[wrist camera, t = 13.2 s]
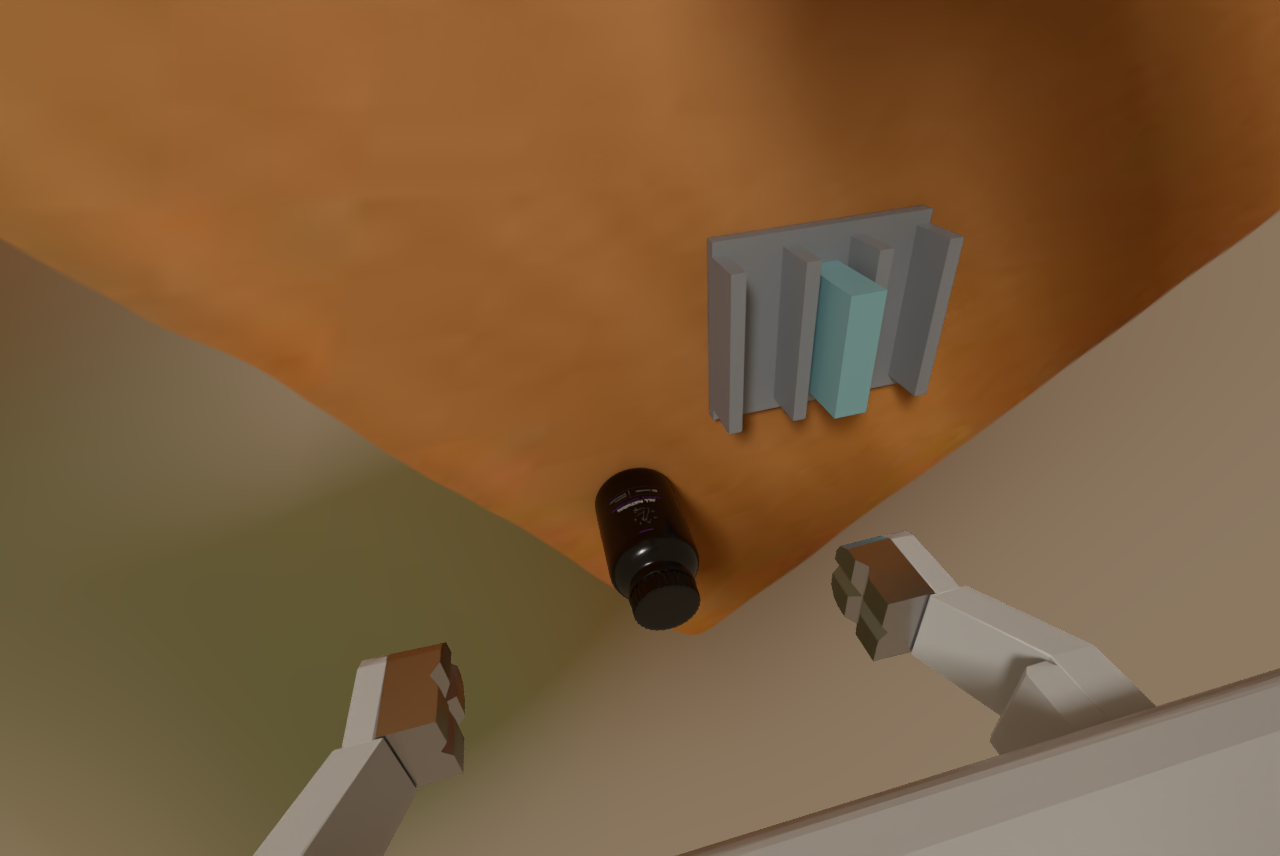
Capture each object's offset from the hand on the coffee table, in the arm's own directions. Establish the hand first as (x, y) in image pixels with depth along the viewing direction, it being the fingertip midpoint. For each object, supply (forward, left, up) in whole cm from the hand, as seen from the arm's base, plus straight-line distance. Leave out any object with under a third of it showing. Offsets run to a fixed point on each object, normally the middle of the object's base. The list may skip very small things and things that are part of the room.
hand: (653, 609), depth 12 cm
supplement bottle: (+23, +4, -29) cm, 37 cm away
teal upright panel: (+9, +19, -28) cm, 35 cm away
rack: (+9, +19, -29) cm, 36 cm away
